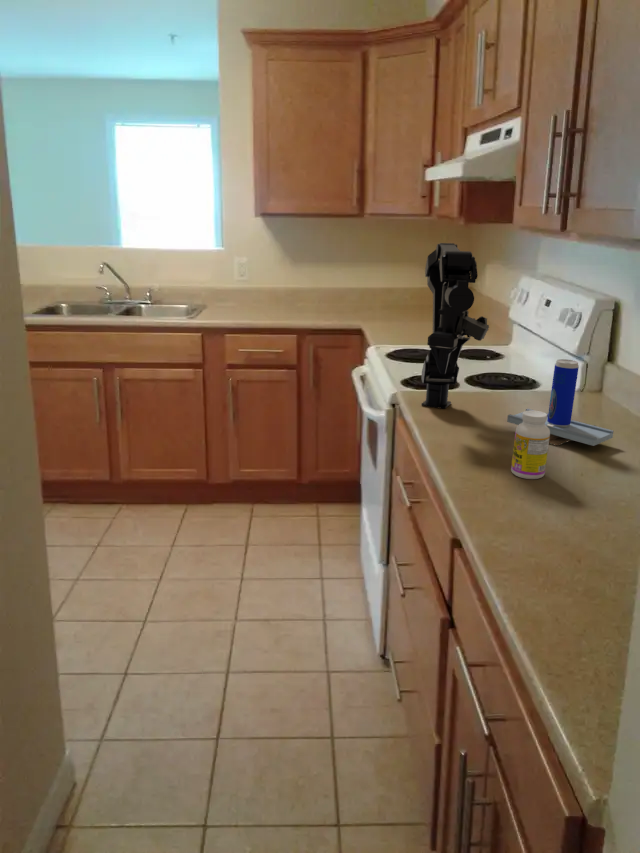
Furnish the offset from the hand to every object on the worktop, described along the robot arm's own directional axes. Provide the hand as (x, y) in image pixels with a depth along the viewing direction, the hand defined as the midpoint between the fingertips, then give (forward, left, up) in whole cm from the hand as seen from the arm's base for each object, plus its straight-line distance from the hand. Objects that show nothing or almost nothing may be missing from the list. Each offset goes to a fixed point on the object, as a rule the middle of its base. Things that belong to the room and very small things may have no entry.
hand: (448, 370), depth 181 cm
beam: (-1, +27, -11) cm, 29 cm away
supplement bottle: (+27, +25, -13) cm, 39 cm away
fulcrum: (-1, +27, -13) cm, 30 cm away
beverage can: (-1, +27, -10) cm, 29 cm away
